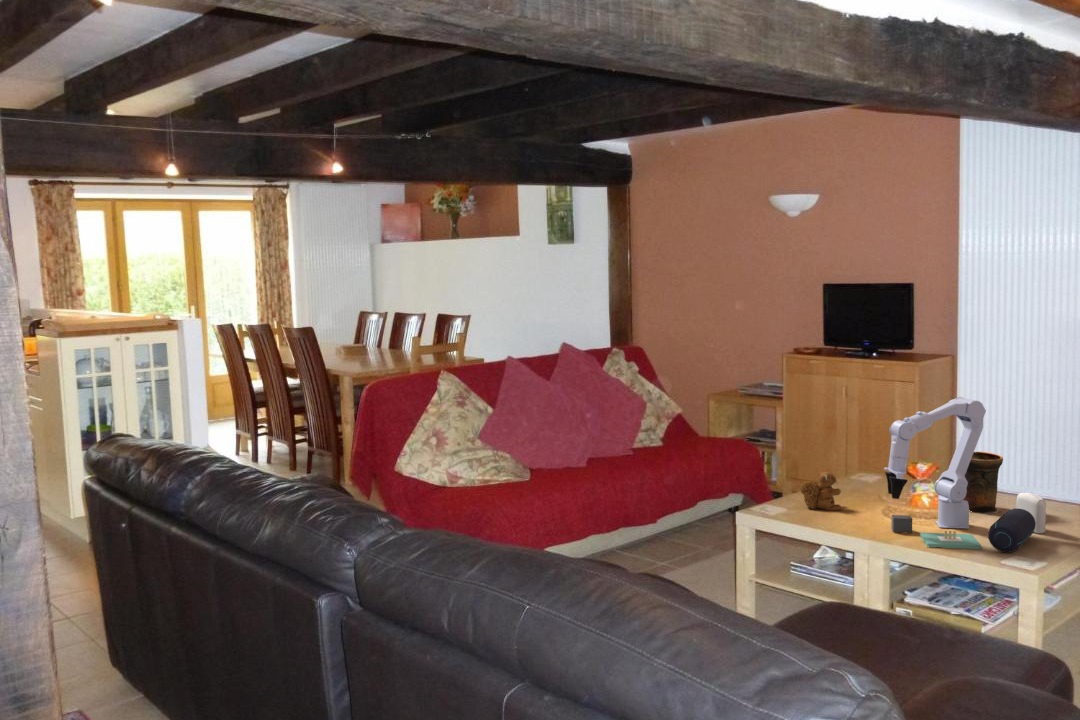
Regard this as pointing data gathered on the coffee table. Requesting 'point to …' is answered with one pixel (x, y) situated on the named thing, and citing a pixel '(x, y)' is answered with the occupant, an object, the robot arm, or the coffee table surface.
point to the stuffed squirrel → (821, 492)
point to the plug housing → (901, 523)
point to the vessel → (983, 482)
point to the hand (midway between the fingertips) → (893, 496)
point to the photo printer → (1033, 509)
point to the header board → (950, 540)
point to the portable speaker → (1011, 530)
